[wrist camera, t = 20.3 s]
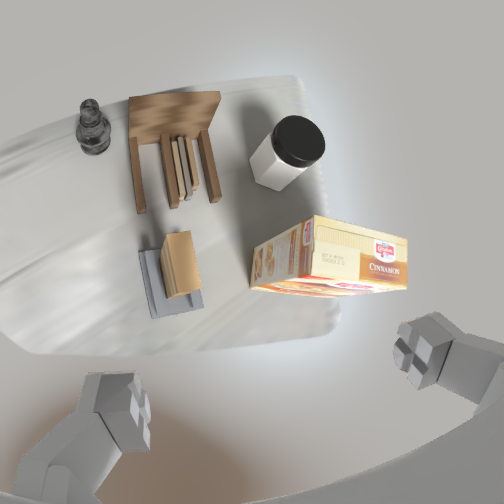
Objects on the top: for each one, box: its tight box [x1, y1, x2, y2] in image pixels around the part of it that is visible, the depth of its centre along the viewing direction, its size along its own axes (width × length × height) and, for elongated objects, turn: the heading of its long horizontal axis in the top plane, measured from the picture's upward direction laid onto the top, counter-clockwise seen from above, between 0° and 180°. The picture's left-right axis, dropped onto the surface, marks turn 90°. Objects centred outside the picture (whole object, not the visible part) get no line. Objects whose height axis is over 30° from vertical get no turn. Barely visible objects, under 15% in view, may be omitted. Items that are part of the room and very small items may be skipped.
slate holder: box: [139, 248, 204, 319], centre depth 45 cm, size 8×10×4 cm
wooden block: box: [159, 231, 202, 299], centre depth 39 cm, size 2×6×16 cm, turn 14°
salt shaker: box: [76, 99, 111, 156], centre depth 41 cm, size 6×6×12 cm
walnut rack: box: [129, 91, 222, 214], centre depth 45 cm, size 13×13×12 cm
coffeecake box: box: [250, 215, 407, 298], centre depth 45 cm, size 15×7×20 cm, turn 84°
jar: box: [249, 115, 325, 191], centre depth 51 cm, size 9×8×12 cm
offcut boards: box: [171, 137, 199, 201], centre depth 49 cm, size 3×10×4 cm, turn 14°
